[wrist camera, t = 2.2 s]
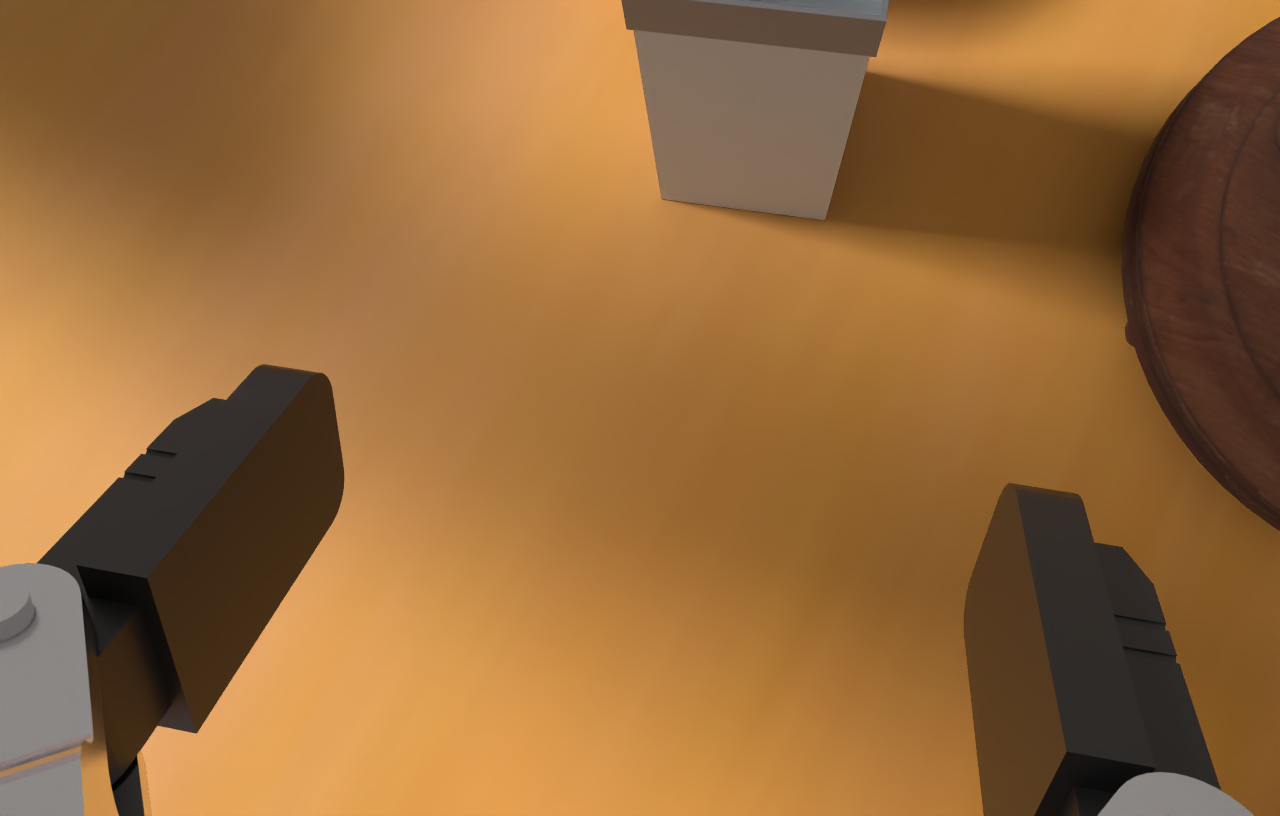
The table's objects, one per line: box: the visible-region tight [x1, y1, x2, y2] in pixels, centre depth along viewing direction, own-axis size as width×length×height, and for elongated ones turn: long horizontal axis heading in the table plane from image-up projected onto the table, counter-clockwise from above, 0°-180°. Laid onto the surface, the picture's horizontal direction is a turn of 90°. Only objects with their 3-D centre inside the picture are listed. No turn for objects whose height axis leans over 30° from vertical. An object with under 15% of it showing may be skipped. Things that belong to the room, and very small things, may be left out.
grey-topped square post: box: [622, 0, 889, 220], centre depth 23 cm, size 5×5×10 cm
